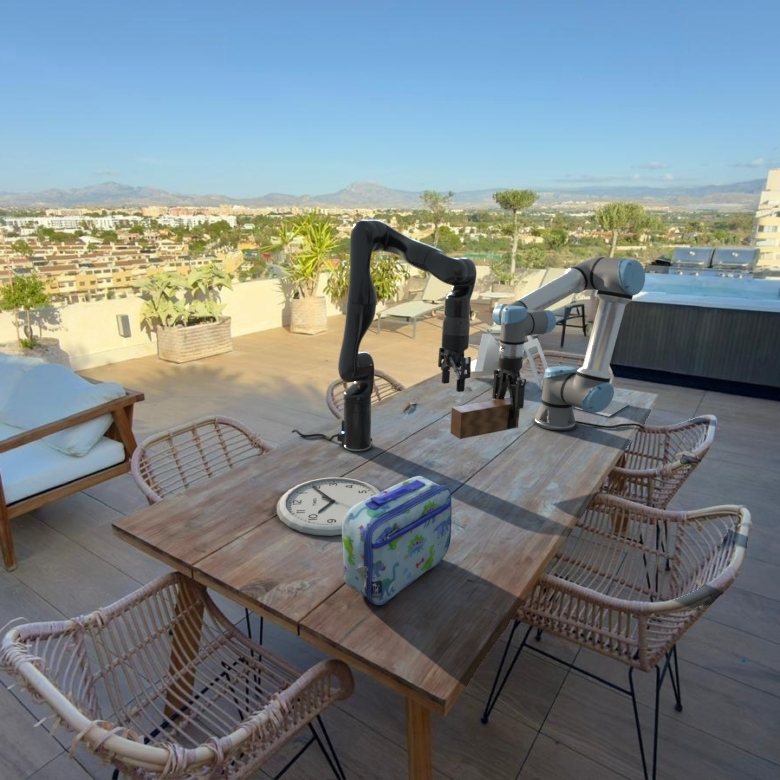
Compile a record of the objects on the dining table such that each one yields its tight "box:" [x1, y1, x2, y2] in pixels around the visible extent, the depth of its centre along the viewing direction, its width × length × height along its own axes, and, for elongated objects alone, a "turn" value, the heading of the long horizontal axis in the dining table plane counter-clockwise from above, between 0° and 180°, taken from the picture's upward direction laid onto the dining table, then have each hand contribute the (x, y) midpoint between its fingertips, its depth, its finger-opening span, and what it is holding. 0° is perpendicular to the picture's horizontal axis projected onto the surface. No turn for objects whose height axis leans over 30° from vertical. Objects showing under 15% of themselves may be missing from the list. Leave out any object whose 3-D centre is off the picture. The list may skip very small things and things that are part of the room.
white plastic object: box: [470, 333, 549, 391], centre depth 258 cm, size 37×45×31 cm
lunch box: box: [341, 475, 453, 606], centre depth 111 cm, size 26×11×21 cm, turn 134°
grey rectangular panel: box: [573, 400, 629, 418], centre depth 226 cm, size 21×1×15 cm
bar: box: [450, 397, 521, 440], centre depth 168 cm, size 23×6×9 cm, turn 116°
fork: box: [403, 396, 419, 412], centre depth 222 cm, size 3×16×2 cm, turn 160°
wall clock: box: [276, 476, 382, 537], centre depth 142 cm, size 30×2×30 cm
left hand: (452, 387), depth 151 cm, fingers open, 8 cm apart
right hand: (505, 423), depth 172 cm, fingers closed on bar, 5 cm apart
